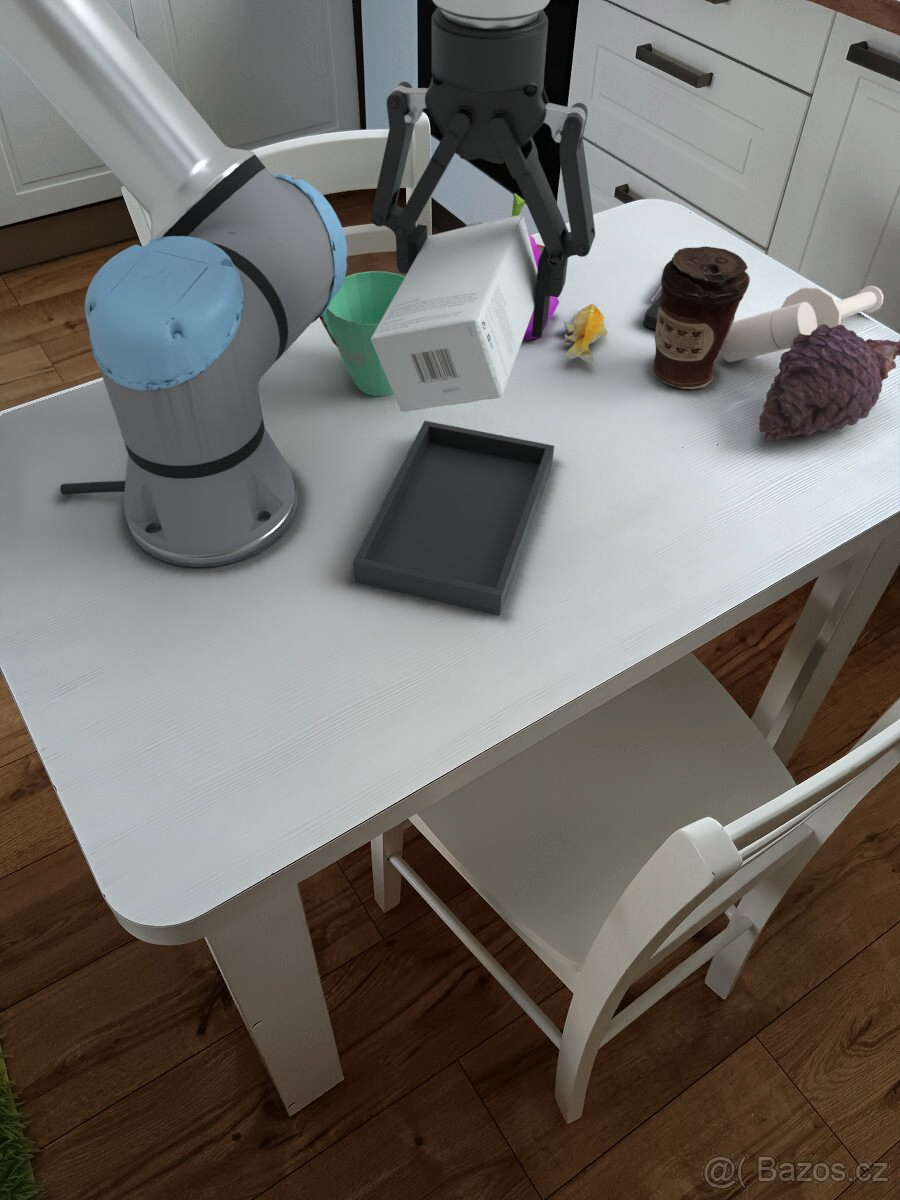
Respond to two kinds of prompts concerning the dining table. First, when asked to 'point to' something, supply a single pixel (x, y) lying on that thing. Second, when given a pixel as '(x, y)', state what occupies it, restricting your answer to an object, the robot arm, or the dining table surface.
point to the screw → (656, 293)
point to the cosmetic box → (459, 316)
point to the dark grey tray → (456, 517)
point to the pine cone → (826, 382)
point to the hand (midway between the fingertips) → (478, 317)
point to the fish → (584, 332)
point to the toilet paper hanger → (794, 321)
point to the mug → (361, 325)
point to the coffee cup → (696, 313)
